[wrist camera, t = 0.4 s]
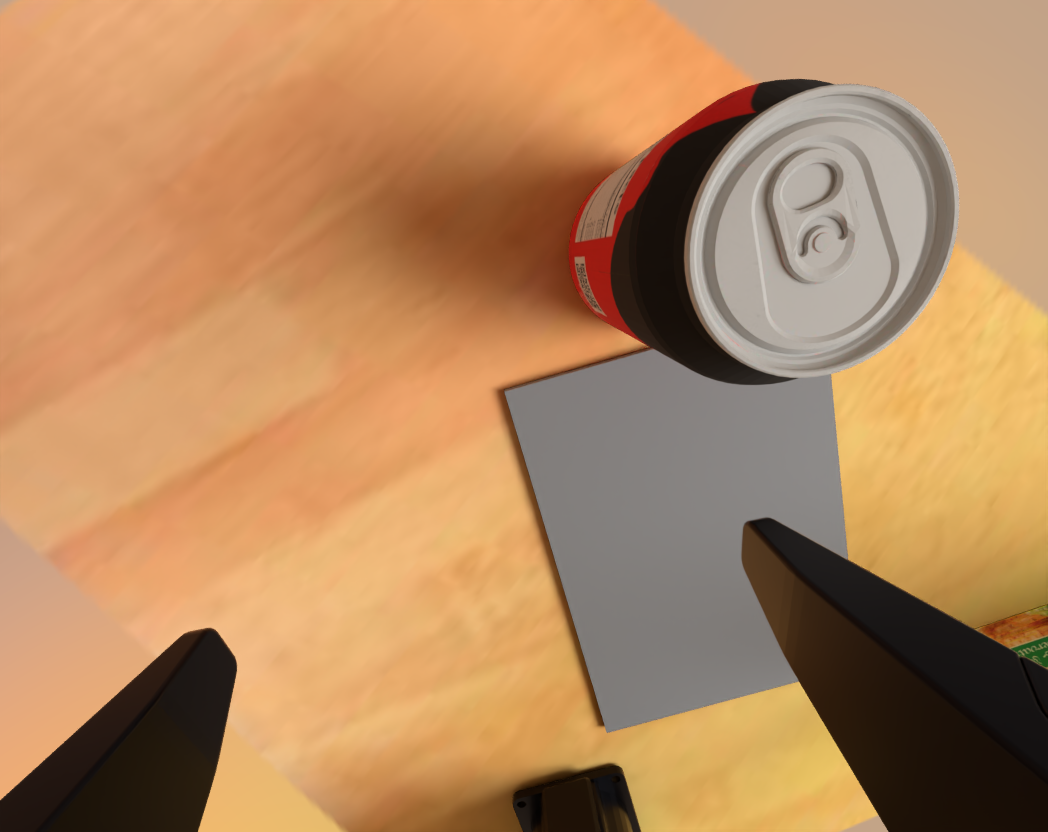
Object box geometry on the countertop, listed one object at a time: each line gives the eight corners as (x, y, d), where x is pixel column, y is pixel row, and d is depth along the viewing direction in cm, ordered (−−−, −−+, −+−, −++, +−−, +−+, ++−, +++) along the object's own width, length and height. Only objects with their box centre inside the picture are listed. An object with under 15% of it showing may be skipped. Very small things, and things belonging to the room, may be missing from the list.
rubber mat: (852, 659, 28) (857, 665, 27) (605, 726, 28) (606, 732, 28) (818, 299, 22) (824, 300, 21) (504, 389, 22) (504, 391, 22)
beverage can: (596, 351, 22) (710, 454, 10) (541, 206, 20) (606, 137, 9) (734, 293, 22) (1011, 332, 10) (691, 138, 20) (969, -27, 8)
